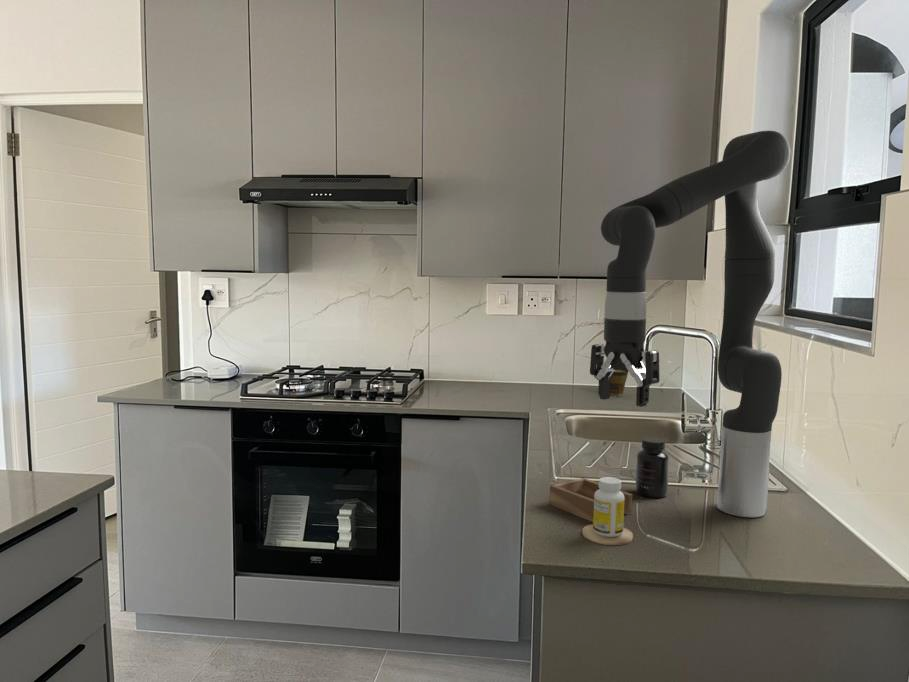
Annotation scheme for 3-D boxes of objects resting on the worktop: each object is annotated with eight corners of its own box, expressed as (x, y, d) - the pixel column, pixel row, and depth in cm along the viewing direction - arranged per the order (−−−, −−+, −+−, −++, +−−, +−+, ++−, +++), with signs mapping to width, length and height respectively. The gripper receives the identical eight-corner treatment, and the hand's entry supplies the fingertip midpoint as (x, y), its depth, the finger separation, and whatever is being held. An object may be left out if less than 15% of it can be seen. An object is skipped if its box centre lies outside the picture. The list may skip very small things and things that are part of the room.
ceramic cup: (625, 393, 277) (626, 368, 276) (628, 398, 267) (629, 372, 266) (591, 392, 279) (593, 367, 278) (593, 396, 269) (594, 370, 268)
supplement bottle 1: (618, 527, 132) (621, 475, 131) (626, 538, 127) (629, 485, 126) (589, 526, 132) (592, 475, 131) (596, 537, 126) (599, 484, 125)
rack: (582, 496, 151) (583, 477, 151) (631, 514, 141) (632, 494, 141) (549, 504, 145) (550, 485, 145) (597, 524, 135) (598, 503, 134)
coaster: (604, 523, 135) (605, 520, 135) (643, 538, 128) (643, 535, 128) (572, 532, 130) (572, 529, 130) (610, 549, 123) (610, 546, 123)
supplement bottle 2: (642, 486, 159) (645, 434, 158) (672, 493, 155) (675, 439, 153) (629, 493, 154) (632, 439, 152) (659, 501, 149) (662, 445, 148)
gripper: (670, 317, 128) (667, 406, 129) (608, 312, 139) (605, 394, 141) (644, 320, 123) (641, 411, 125) (582, 314, 134) (580, 399, 136)
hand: (622, 402), depth 133 cm, fingers open, 8 cm apart
